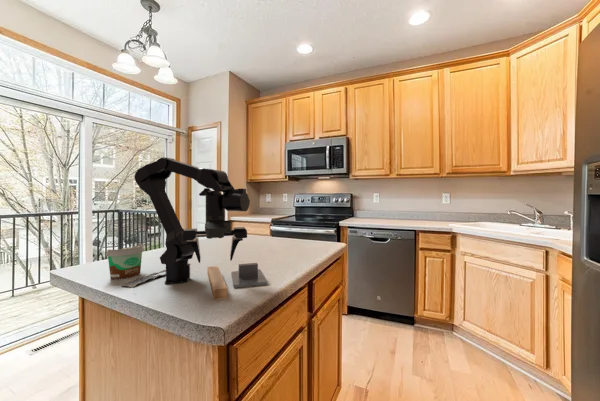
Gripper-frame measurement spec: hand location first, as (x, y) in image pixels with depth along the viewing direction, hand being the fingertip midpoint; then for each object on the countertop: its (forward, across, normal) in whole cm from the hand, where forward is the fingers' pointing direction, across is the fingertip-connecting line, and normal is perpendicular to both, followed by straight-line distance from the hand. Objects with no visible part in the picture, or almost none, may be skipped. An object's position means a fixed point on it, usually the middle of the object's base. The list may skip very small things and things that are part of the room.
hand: (215, 261), depth 80 cm
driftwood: (+8, -20, +14) cm, 26 cm away
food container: (+8, -28, +18) cm, 34 cm away
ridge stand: (+7, +10, +2) cm, 12 cm away
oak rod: (+8, 0, 0) cm, 8 cm away
